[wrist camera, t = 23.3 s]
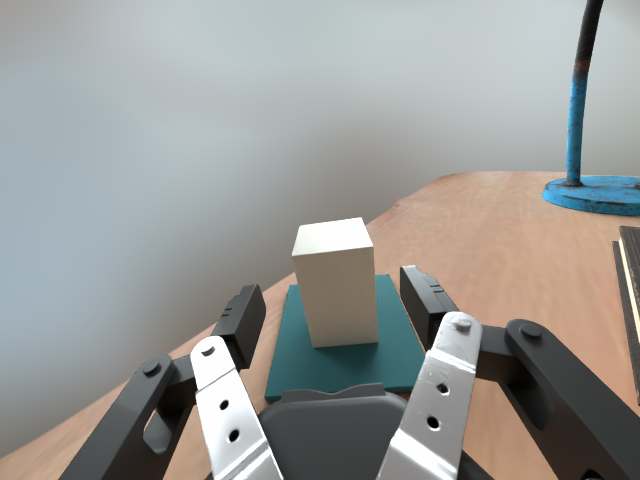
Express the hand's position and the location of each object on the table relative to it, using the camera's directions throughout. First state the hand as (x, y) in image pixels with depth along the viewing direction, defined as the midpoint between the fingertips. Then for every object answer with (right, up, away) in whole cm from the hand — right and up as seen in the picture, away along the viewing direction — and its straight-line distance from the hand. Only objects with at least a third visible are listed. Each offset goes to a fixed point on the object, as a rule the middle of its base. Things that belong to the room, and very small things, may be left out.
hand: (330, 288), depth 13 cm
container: (+2, -5, +8) cm, 10 cm away
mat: (+2, -5, +9) cm, 10 cm away
